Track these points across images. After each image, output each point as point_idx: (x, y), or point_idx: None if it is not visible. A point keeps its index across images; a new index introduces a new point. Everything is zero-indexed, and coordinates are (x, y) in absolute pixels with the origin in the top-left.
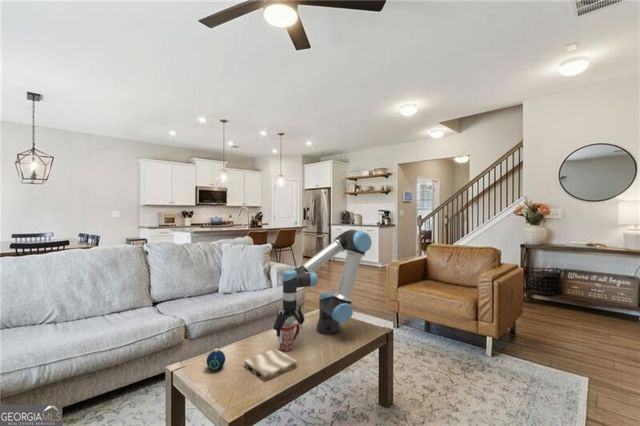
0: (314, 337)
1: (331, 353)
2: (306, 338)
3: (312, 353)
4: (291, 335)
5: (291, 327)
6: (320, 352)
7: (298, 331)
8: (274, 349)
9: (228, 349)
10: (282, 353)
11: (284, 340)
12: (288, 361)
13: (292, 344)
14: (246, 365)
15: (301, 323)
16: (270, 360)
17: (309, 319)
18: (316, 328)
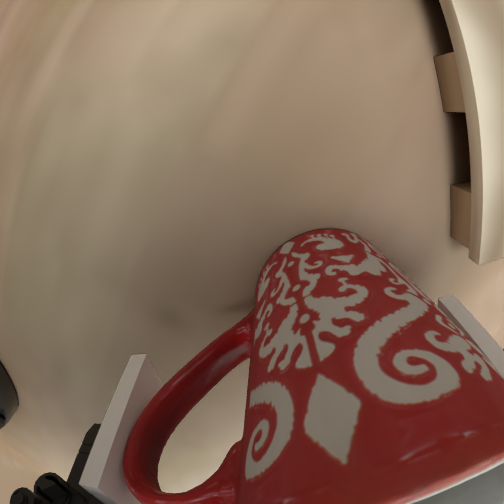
0: (30, 338)
1: (13, 23)
2: (84, 359)
3: (133, 63)
4: (361, 318)
5: (449, 454)
6: (63, 59)
7: (146, 406)
8: (493, 249)
9: None
10: (487, 123)
11: (430, 299)
12: None
13: (293, 261)
14: None
15: (65, 486)
16: None
17: (52, 472)
18: (14, 405)
